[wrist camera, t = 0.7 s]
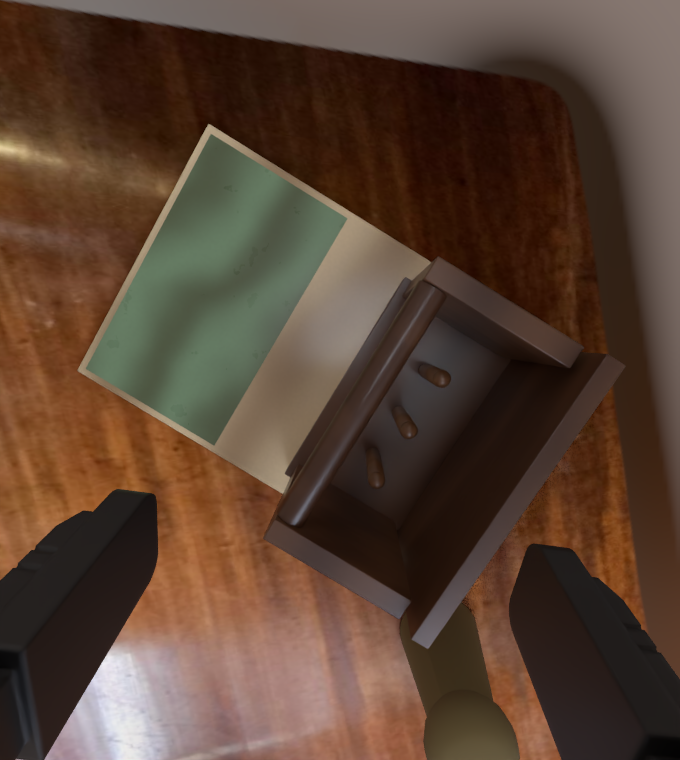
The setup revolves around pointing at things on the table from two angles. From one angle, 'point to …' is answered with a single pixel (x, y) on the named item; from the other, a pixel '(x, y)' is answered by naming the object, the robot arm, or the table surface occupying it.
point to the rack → (435, 445)
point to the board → (246, 307)
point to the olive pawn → (458, 694)
